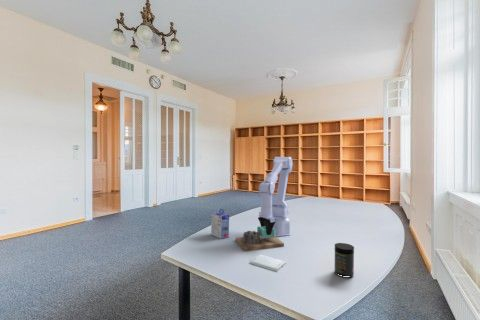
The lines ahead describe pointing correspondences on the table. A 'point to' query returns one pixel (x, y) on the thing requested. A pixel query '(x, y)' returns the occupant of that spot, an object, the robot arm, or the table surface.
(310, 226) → the table surface
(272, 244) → the gear board
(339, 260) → the supplement container
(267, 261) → the hard drive
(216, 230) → the ink cartridge box
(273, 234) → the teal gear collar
